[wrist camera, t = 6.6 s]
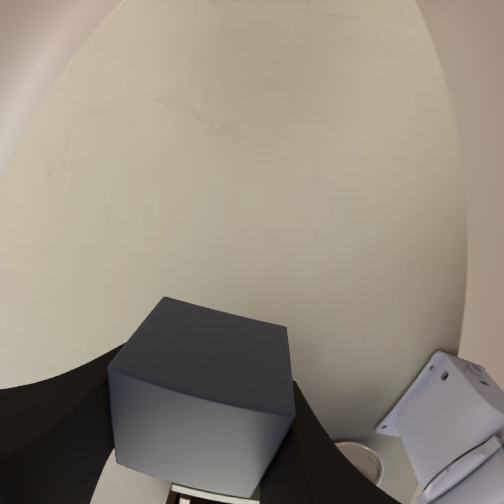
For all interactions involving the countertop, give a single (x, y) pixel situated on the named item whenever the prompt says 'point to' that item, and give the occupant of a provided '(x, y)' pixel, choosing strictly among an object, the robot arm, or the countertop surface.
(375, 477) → the beige cup
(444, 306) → the countertop surface
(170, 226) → the countertop surface
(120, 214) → the countertop surface
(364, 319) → the countertop surface
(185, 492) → the drawer
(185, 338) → the block
